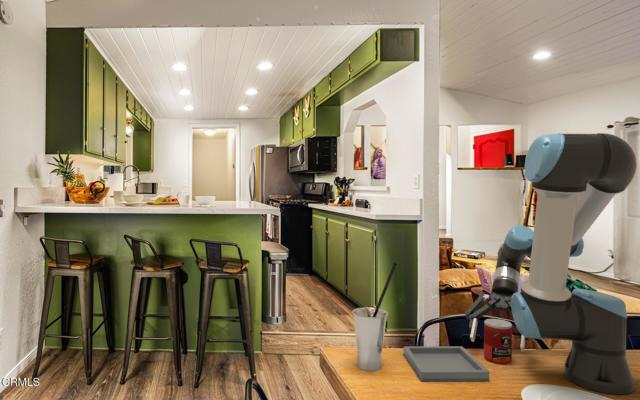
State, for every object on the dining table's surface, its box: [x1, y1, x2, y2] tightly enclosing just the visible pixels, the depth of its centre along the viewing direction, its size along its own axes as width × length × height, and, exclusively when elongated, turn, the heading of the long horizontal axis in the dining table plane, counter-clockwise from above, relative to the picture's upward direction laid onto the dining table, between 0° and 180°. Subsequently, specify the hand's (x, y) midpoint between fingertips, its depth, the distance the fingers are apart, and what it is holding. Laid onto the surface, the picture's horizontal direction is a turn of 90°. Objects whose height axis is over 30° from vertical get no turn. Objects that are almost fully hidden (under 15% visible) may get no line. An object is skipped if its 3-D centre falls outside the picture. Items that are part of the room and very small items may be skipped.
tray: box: [403, 345, 490, 383], centre depth 113 cm, size 18×18×2 cm
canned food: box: [483, 318, 513, 365], centre depth 119 cm, size 8×8×11 cm
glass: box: [351, 262, 398, 372], centre depth 112 cm, size 11×11×30 cm
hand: (496, 344), depth 117 cm, fingers open, 13 cm apart
